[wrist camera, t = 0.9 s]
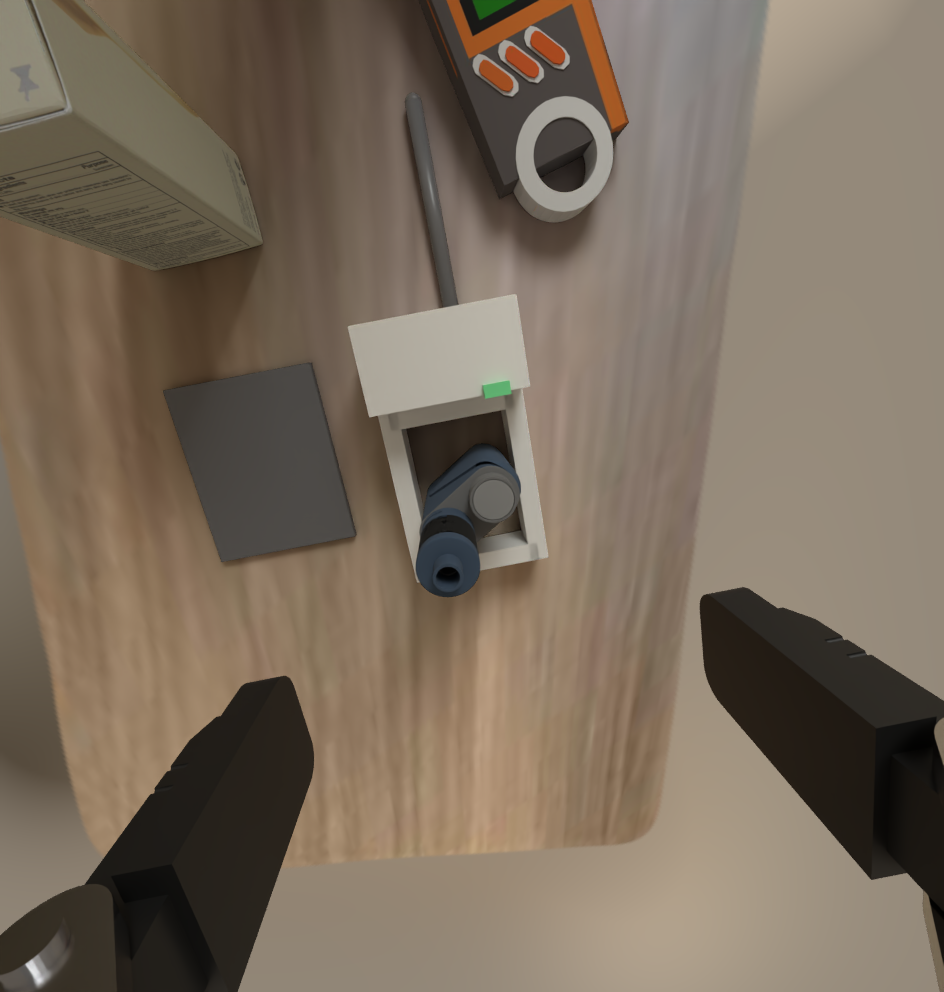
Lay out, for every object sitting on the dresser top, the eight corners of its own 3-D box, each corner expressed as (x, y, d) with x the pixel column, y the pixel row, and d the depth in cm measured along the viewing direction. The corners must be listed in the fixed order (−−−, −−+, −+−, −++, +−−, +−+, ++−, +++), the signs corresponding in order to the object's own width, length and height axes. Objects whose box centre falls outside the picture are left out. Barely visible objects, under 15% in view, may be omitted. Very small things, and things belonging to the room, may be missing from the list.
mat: (167, 390, 25) (162, 390, 25) (311, 362, 25) (309, 362, 25) (224, 559, 27) (221, 562, 27) (356, 533, 28) (355, 536, 27)
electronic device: (525, 235, 22) (373, -156, 18) (515, 249, 25) (382, -86, 21) (654, 169, 22) (529, -246, 18) (629, 191, 25) (517, -162, 20)
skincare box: (238, 152, 23) (7, -103, 11) (267, 247, 24) (85, 110, 12) (111, 181, 23) (-260, -42, 11) (145, 275, 24) (-159, 165, 12)
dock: (316, 116, 22) (275, 35, 17) (467, 88, 22) (473, -2, 17) (419, 565, 28) (413, 607, 23) (539, 542, 28) (560, 578, 23)
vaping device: (417, 493, 27) (394, 576, 15) (484, 433, 26) (511, 471, 15) (447, 524, 28) (446, 626, 16) (513, 465, 27) (562, 527, 15)
